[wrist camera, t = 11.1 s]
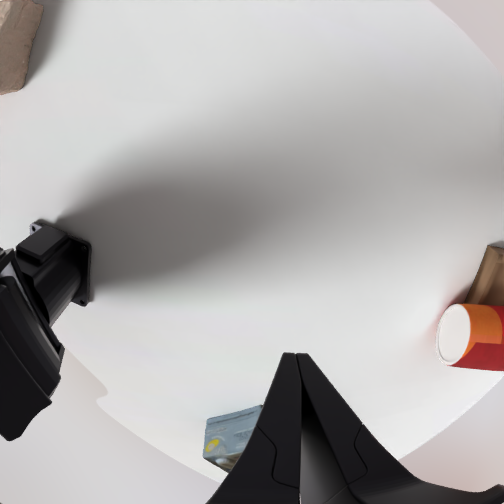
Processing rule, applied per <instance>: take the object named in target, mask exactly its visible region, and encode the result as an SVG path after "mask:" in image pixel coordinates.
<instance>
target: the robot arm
mask: <svg viewBox="0 0 504 504" xmlns="http://www.w3.org/2000/svg"><path fill="white" fill-rule="evenodd" d="M35 228H36V229H35ZM84 247H86V249H84ZM90 259H91V245H90V244H89V243H88V242H87V241H84V240H82V239H79V238H76V237H74V236H71V235H69V234H67V233H65V232H63V231H60V230H58V229H55V228H53V227H50V226H48V225H43V224H40V223H38V222H33V223H32V224H31V225H30V236H29V237H27V238H26V239H25V240H23V241H22V242H21V243H19V244H18V245H17V246H16V251H14V249H13V248H11V249H8V250H3V248H0V435H1V436H3V437H4V438H5V439H6V440H7V441H12V440H14V439H16V438H18V437H20V436H21V435H22V434H23V432H24V430H25V429H26V427H27V426H28V424H29V423H30V422H31V420H32V419H33V418H34V417H35V416H36V415H37V414H38V413H39V412H40V411H41V410H43V409H44V408H46V407H47V406H49V405H50V404H51V403H52V401H51V400H50V397H51V396H52V395H53V393H54V391H55V389H56V388H57V386H58V384H59V382H60V379H61V376H60V374H59V372H60V367H61V363H62V359H63V355H64V350H65V348H64V346H63V345H62V343H60V342H59V340H58V339H57V337H56V336H55V334H54V332H53V331H52V329H51V327H52V325H53V324H54V323H55V321H56V320H57V319H58V317H59V316H60V315H61V313H62V312H63V311H64V310H65V308H66V307H67V306H68V304H69V303H70V302H74V303H76V304H78V305H80V306H83V307H85V306H87V304H88V302H89V277H90ZM299 489H300V490H299ZM300 496H301V504H502V503H503V502H504V486H503V485H500V484H498V485H495V486H494V487H492V488H490V489H488V490H486V491H483V492H467V491H462V490H457V489H452V488H448V487H444V486H439V485H435V484H431V483H428V482H425V481H422V480H420V479H418V478H417V477H415V476H414V475H413V474H411V473H410V472H409V471H408V470H407V469H406V468H405V467H404V466H403V465H401V464H400V463H399V462H398V461H397V460H396V459H395V458H394V457H393V456H392V455H391V454H390V453H389V452H388V451H387V450H386V449H385V448H384V447H383V446H382V445H381V444H380V443H379V442H378V441H377V440H376V438H375V437H374V436H373V435H372V434H371V433H370V431H369V430H368V429H367V428H366V426H365V425H364V424H362V422H361V420H360V419H359V418H358V417H357V415H356V414H355V413H354V412H353V410H352V409H351V408H350V407H349V405H348V404H347V403H346V401H345V400H344V399H343V398H342V396H341V395H340V394H339V393H338V391H337V390H336V389H335V388H334V386H333V385H332V384H331V382H330V381H329V380H328V379H327V377H326V376H325V375H324V374H323V372H322V371H321V370H320V368H319V367H318V366H317V365H316V363H315V362H314V361H313V359H312V358H311V357H310V356H309V354H307V353H296V354H295V353H286V352H284V353H283V354H282V357H281V360H280V363H279V365H278V368H277V371H276V373H275V376H274V379H273V381H272V384H271V387H270V389H269V392H268V394H267V397H266V399H265V402H264V405H263V407H262V410H261V412H260V415H259V417H258V419H257V422H256V424H255V427H254V429H253V431H252V434H251V436H250V438H249V440H248V442H247V444H246V447H245V449H244V450H243V452H242V454H241V455H240V457H239V459H238V460H237V462H236V463H235V465H234V466H233V468H232V469H231V471H230V472H229V473H228V475H227V476H226V478H225V479H224V481H223V482H222V484H221V485H220V487H219V488H218V489H217V490H216V492H215V493H214V494H213V496H212V497H211V498H210V499H209V500H208V502H207V503H206V504H300ZM0 504H2V503H0Z"/></svg>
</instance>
